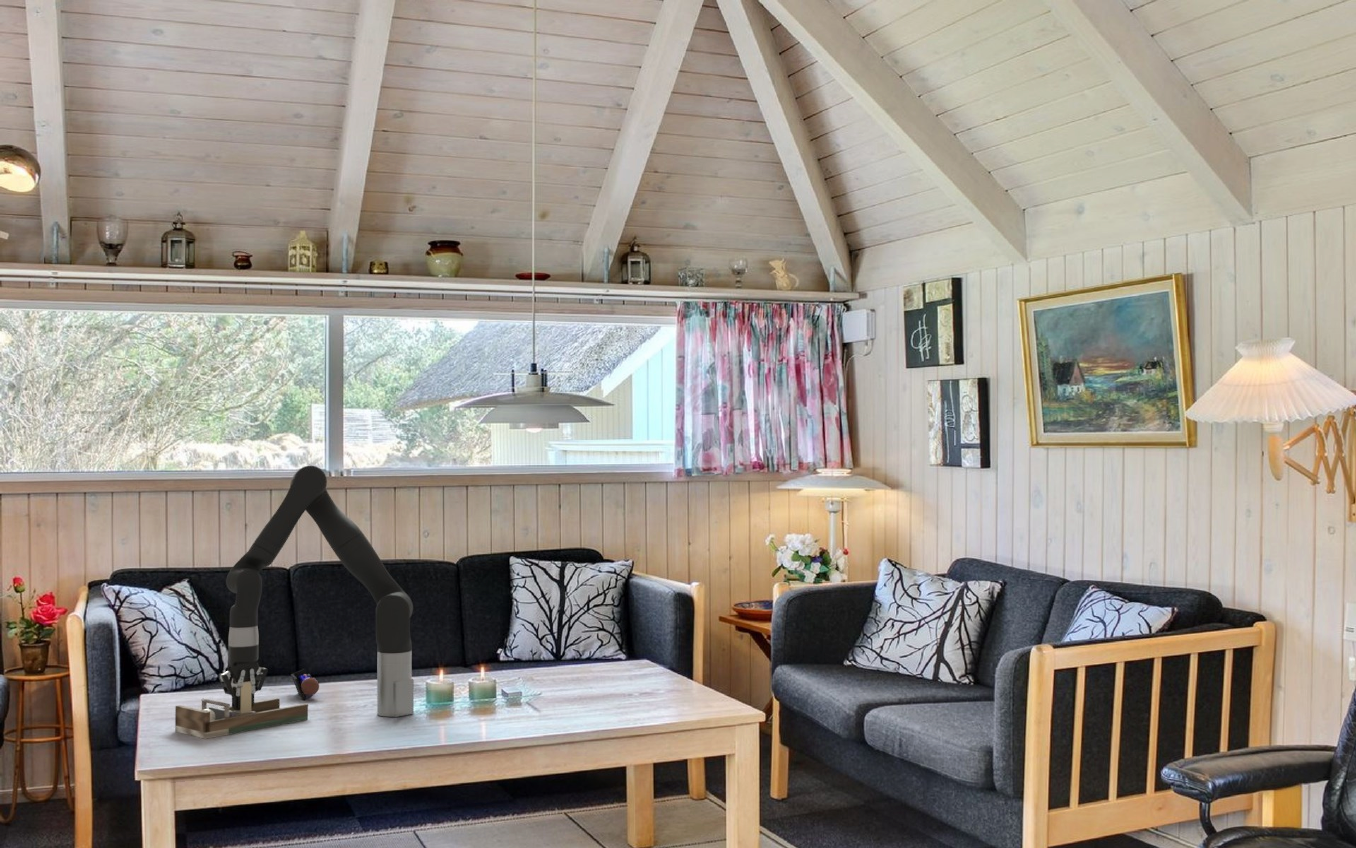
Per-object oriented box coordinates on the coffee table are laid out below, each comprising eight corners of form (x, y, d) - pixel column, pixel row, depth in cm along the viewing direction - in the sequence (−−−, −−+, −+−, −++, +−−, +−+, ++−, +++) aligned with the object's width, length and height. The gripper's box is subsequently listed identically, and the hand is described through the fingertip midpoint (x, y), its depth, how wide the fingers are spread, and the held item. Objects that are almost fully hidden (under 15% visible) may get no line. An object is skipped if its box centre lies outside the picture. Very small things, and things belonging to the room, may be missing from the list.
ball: (200, 724, 315) (214, 729, 318) (207, 707, 317) (221, 712, 320) (191, 722, 318) (205, 727, 321) (198, 705, 320) (212, 710, 323)
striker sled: (261, 719, 325) (261, 682, 326) (231, 724, 319) (232, 687, 319) (238, 714, 332) (238, 678, 332) (208, 719, 325) (209, 682, 326)
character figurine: (312, 692, 375) (318, 702, 362) (287, 692, 373) (293, 702, 359) (314, 666, 376) (321, 675, 362) (290, 666, 373) (295, 674, 359)
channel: (307, 719, 334) (307, 691, 335) (205, 738, 311) (205, 708, 311) (276, 712, 343) (277, 685, 344) (175, 731, 320) (175, 702, 320)
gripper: (227, 648, 320) (226, 715, 319) (275, 641, 331) (274, 706, 330) (211, 645, 325) (211, 711, 324) (259, 639, 336) (258, 703, 335)
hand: (243, 708), depth 327 cm, fingers closed on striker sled, 3 cm apart
